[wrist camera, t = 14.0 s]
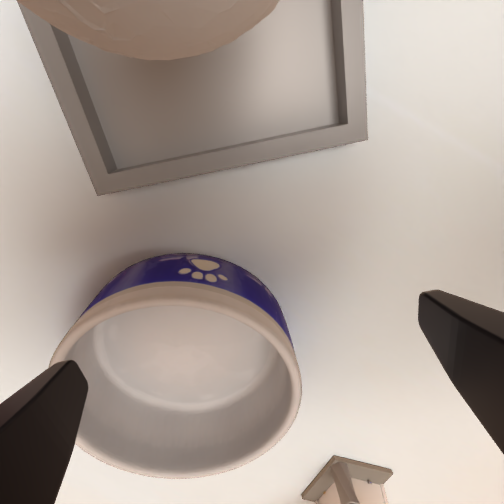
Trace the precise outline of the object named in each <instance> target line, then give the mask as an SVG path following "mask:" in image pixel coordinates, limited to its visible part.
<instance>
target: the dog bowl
mask: <svg viewBox="0 0 504 504" xmlns="http://www.w3.org/2000/svg"><path fill="white" fill-rule="evenodd" d="M66 360H74V361H75V362H76V363H77V364H78V366H79V368H80V369H81V371H82V373H83V374H84V376H85V378H86V380H87V382H88V394H87V398H86V402H85V406H84V410H83V414H82V418H81V421H80V425H79V429H78V433H77V437H76V441H75V444H76V445H77V446H79V447H80V448H81V449H82V450H84V451H85V452H87V453H88V454H90V455H91V456H93V457H95V458H96V459H98V460H100V461H102V462H104V463H106V464H108V465H111V466H113V467H116V468H118V469H121V470H124V471H127V472H131V473H135V474H139V475H143V476H149V477H157V478H167V479H187V478H199V477H205V476H211V475H215V474H219V473H223V472H227V471H230V470H233V469H236V468H238V467H241V466H243V465H245V464H247V463H249V462H251V461H253V460H255V459H256V458H258V457H260V456H261V455H263V454H264V453H266V452H267V451H268V450H270V449H271V448H272V447H273V446H274V445H275V444H276V443H277V442H278V441H280V439H281V438H282V437H283V436H284V435H285V434H286V433H287V431H288V430H289V428H290V427H291V425H292V424H293V422H294V420H295V418H296V415H297V413H298V410H299V406H300V402H301V395H302V383H301V376H300V371H299V367H298V363H297V360H296V356H295V352H294V348H293V344H292V341H291V337H290V334H289V331H288V328H287V325H286V322H285V319H284V316H283V314H282V311H281V308H280V306H279V304H278V302H277V300H276V299H275V297H274V296H273V295H272V293H271V292H270V291H269V289H268V288H267V287H266V286H265V285H264V284H263V283H262V282H261V281H260V280H259V279H257V278H256V277H255V276H254V275H252V274H251V273H249V272H248V271H246V270H244V269H243V268H241V267H239V266H237V265H235V264H233V263H230V262H228V261H225V260H222V259H219V258H215V257H211V256H206V255H200V254H186V253H180V254H168V255H163V256H157V257H153V258H150V259H147V260H143V261H141V262H139V263H136V264H134V265H132V266H130V267H128V268H127V269H125V270H124V271H122V272H120V273H119V274H118V275H117V276H115V277H114V278H113V279H112V280H111V281H110V282H109V283H108V284H107V285H106V286H105V287H104V288H103V289H102V290H101V291H100V293H99V294H98V295H97V296H96V297H95V299H94V300H93V301H92V302H91V303H90V305H89V306H88V307H87V309H86V310H85V311H84V312H83V314H82V315H81V316H80V318H79V319H78V320H77V321H76V323H75V324H74V325H73V327H72V328H71V329H70V330H69V331H68V333H67V334H66V336H65V337H64V338H63V340H62V341H61V343H60V344H59V345H58V347H57V349H56V351H55V352H54V354H53V356H52V359H51V361H50V364H49V367H51V366H52V365H53V364H55V363H57V362H61V361H66Z"/></svg>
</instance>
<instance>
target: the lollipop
mask: <svg viewBox="0 0 504 504" xmlns="http://www.w3.org/2000/svg"><path fill="white" fill-rule="evenodd" d="M17 1H18V2H19V3H21V4H22V5H23V6H25V7H26V8H28V9H29V10H31V11H32V12H33V13H34V14H36V15H37V16H39V17H40V18H42V19H43V20H45V21H47V22H48V23H50V24H51V25H53V26H54V27H56V28H58V29H60V30H61V31H63V32H65V33H67V34H69V35H71V36H73V37H75V38H77V39H79V40H81V41H84V42H86V43H88V44H91V45H94V46H96V47H98V48H100V49H102V50H104V51H106V52H111V53H115V54H120V55H123V56H127V57H130V58H131V57H134V58H138V59H144V60H173V59H179V58H186V57H192V56H198V55H200V54H203V53H207V52H211V51H214V50H215V49H217V48H219V47H221V46H223V45H225V44H229V43H231V42H233V41H234V40H236V39H237V38H238V37H239V36H241V35H242V34H244V33H245V32H247V31H249V30H251V29H252V28H253V27H254V26H255V25H257V24H258V23H259V22H261V21H262V20H263V19H264V18H265V17H267V16H268V15H269V14H270V13H271V12H272V11H273V10H274V9H275V8H276V5H277V3H278V2H279V1H280V0H17Z"/></svg>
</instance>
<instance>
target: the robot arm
mask: <svg viewBox="0 0 504 504" xmlns="http://www.w3.org/2000/svg"><path fill="white" fill-rule="evenodd" d="M418 321H419V325H420V328H421V330H422V331H423V333H424V335H425V337H426V338H427V340H428V342H429V344H430V345H431V347H432V349H433V350H434V352H435V354H436V356H437V357H438V359H439V361H440V363H441V364H442V366H443V368H444V370H445V371H446V373H447V375H448V376H449V378H450V380H451V381H452V383H453V384H454V386H455V387H456V389H457V390H458V392H459V393H460V394H461V396H462V397H463V399H464V400H465V401H466V403H467V404H468V406H469V407H470V408H471V410H472V411H473V412H474V414H475V415H476V417H477V418H478V419H479V421H480V422H481V424H482V425H483V426H484V428H485V429H486V430H487V432H488V433H489V435H490V436H491V437H492V439H493V440H494V442H495V443H496V444H497V446H498V447H499V449H500V450H501V451H502V453H503V454H504V312H501V311H498V310H495V309H492V308H489V307H486V306H484V305H481V304H478V303H475V302H472V301H469V300H466V299H464V298H461V297H458V296H455V295H452V294H449V293H446V292H444V291H441V290H431V291H426V292H422V293H421V294H420V296H419V309H418ZM87 394H88V382H87V380H86V378H85V376H84V374H83V373H82V371H81V369H80V368H79V366H78V364H77V363H76V362H75V361H74V360H66V361H61V362H57V363H55V364H53V365H52V366H51V367H49V368H48V369H47V370H45V371H44V372H43V373H41V374H40V375H39V376H37V377H36V378H35V379H33V380H32V381H31V382H29V383H28V384H27V385H25V386H24V387H22V388H21V389H20V390H18V391H17V392H16V393H14V394H13V395H12V396H10V397H9V398H8V399H6V400H5V401H4V402H2V403H1V404H0V504H54V503H55V500H56V498H57V495H58V492H59V489H60V486H61V484H62V481H63V478H64V475H65V472H66V469H67V467H68V464H69V461H70V458H71V455H72V452H73V448H74V445H75V441H76V437H77V433H78V429H79V425H80V421H81V418H82V414H83V410H84V406H85V402H86V398H87Z"/></svg>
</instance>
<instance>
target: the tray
mask: <svg viewBox="0 0 504 504" xmlns="http://www.w3.org/2000/svg"><path fill="white" fill-rule="evenodd" d="M17 2H18V1H17ZM18 4H19V7H20V9H21V12H22V14H23V16H24V19H25V21H26V24H27V26H28V29H29V31H30V33H31V36H32V38H33V41H34V43H35V45H36V48H37V50H38V53H39V55H40V58H41V60H42V62H43V65H44V67H45V70H46V72H47V75H48V77H49V79H50V82H51V84H52V87H53V89H54V92H55V94H56V96H57V99H58V101H59V104H60V106H61V109H62V111H63V113H64V116H65V118H66V121H67V123H68V125H69V128H70V130H71V133H72V135H73V138H74V140H75V142H76V145H77V147H78V150H79V152H80V155H81V157H82V159H83V162H84V164H85V167H86V169H87V172H88V174H89V176H90V179H91V181H92V184H93V186H94V189H95V191H96V193H97V196H100V195H105V194H109V193H114V192H119V191H124V190H129V189H134V188H138V187H143V186H148V185H153V184H158V183H162V182H167V181H172V180H177V179H182V178H187V177H191V176H196V175H201V174H206V173H211V172H215V171H220V170H225V169H230V168H235V167H240V166H244V165H249V164H254V163H259V162H264V161H268V160H273V159H278V158H283V157H288V156H293V155H297V154H302V153H307V152H312V151H317V150H321V149H326V148H331V147H336V146H341V145H346V144H350V143H355V142H360V141H365V140H368V134H367V104H366V74H365V44H364V14H363V0H280V1H279V2H278V3H277V5H276V8H275V9H274V10H273V11H272V12H271V13H270V14H269V15H268V16H267V17H265V18H264V19H263V20H262V21H261V22H259V23H258V24H257V25H255V26H254V27H253V28H252V29H251V30H249V31H247V32H245V33H244V34H242V35H241V36H239V37H238V38H237V39H236V40H234V41H233V42H231V43H229V44H225V45H223V46H221V47H219V48H217V49H215V50H214V51H211V52H207V53H203V54H200V55H198V56H192V57H186V58H179V59H173V60H144V59H138V58H134V57H131V58H130V57H127V56H123V55H120V54H115V53H111V52H106V51H104V50H102V49H100V48H98V47H96V46H94V45H91V44H88V43H86V42H84V41H81V40H79V39H77V38H75V37H73V36H71V35H69V34H67V33H65V32H63V31H61V30H60V29H58V28H56V27H54V26H53V25H51V24H50V23H48V22H47V21H45V20H43V19H42V18H40V17H39V16H37V15H36V14H34V13H33V12H32V11H31V10H29V9H28V8H26V7H25V6H23V5H22V4H21V3H19V2H18Z"/></svg>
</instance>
